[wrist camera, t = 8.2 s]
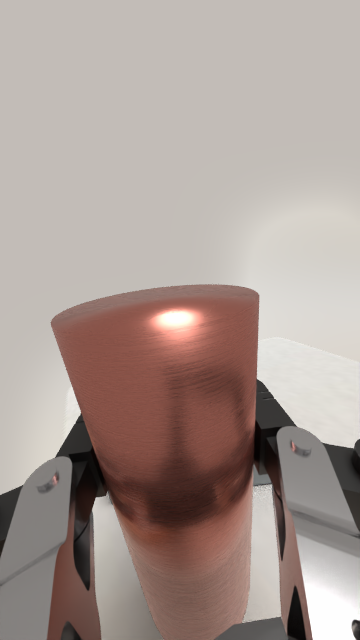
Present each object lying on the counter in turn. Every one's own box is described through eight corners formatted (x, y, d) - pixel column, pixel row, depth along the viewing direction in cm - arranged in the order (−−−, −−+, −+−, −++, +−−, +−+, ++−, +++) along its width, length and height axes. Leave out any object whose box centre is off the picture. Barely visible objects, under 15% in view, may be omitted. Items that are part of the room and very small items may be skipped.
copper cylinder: (228, 483, 12) (223, 280, 8) (273, 647, 7) (324, 311, 3) (149, 494, 12) (101, 294, 8) (133, 670, 7) (-33, 353, 3)
